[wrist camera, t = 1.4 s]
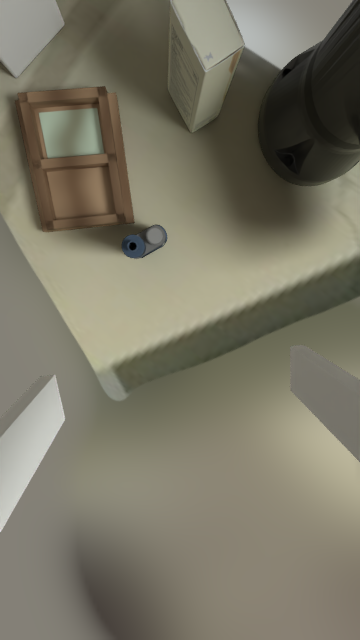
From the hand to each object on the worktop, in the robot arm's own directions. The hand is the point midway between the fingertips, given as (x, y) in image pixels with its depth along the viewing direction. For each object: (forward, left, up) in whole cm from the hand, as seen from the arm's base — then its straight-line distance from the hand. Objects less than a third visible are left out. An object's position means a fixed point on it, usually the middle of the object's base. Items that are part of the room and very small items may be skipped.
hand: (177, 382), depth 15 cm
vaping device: (+1, -9, -27) cm, 28 cm away
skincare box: (-7, -26, -27) cm, 38 cm away
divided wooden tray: (+9, -19, -27) cm, 34 cm away
